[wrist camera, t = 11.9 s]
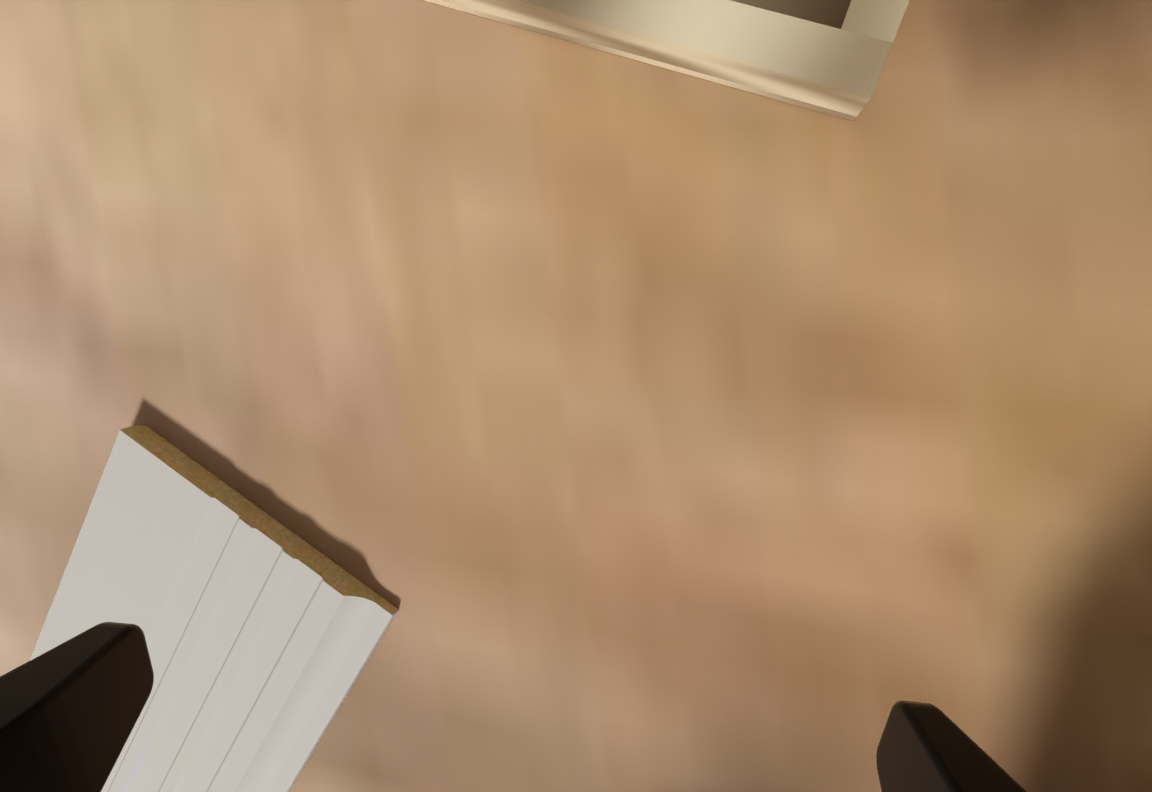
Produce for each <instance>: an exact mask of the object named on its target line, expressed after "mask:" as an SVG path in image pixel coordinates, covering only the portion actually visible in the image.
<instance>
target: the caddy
mask: <svg viewBox="0 0 1152 792" xmlns="http://www.w3.org/2000/svg"><path fill="white" fill-rule="evenodd" d="M425 1H428V2H432V3H435V4H439V5H442V6H446V7H450V8H453V9H457V10H460V11H464V12H467V13H471V14H474V15H478V16H481V17H485V18H489V19H492V20H496V21H499V22H503V23H506V24H510V25H513V26H517V27H521V28H524V29H528V30H531V31H535V32H538V33H542V34H545V35H549V36H553V37H556V38H560V39H563V40H567V41H570V42H574V43H577V44H581V45H584V46H588V47H592V48H595V49H599V50H602V51H606V52H609V53H613V54H616V55H620V56H624V57H627V58H631V59H634V60H638V61H641V62H645V63H648V64H652V65H656V66H659V67H663V68H666V69H670V70H673V71H677V72H680V73H684V74H687V75H691V76H695V77H698V78H702V79H705V80H709V81H712V82H716V83H719V84H723V85H727V86H730V87H734V88H737V89H741V90H744V91H748V92H751V93H755V94H759V95H762V96H766V97H769V98H773V99H776V100H780V101H783V102H787V103H791V104H794V105H798V106H801V107H805V108H808V109H812V110H815V111H819V112H822V113H826V114H830V115H833V116H837V117H840V118H844V119H847V120H851V121H854V119H855V118H856V117H857V116H858V114H859V113H860V112H861V110H862V109H863V108H864V106H865V105H866V104H867V102H868V101H869V100H870V99H871V97H872V95H873V92H874V90H875V87H876V84H877V82H878V79H879V77H880V74H881V72H882V69H883V67H884V64H885V62H886V59H887V56H888V54H889V51H890V49H891V46H892V44H893V41H894V39H895V36H896V34H897V31H898V28H899V26H900V23H901V21H902V18H903V16H904V13H905V11H906V8H907V6H908V3H909V0H425Z"/></svg>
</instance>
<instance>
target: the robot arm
mask: <svg viewBox="0 0 1152 792" xmlns="http://www.w3.org/2000/svg"><path fill="white" fill-rule="evenodd" d="M153 682H154V673H153V668H152V664H151V660H150V656H149V652H148V648H147V643H146V639H145V635H144V632H143V630H142V629H141V628H140V627H139V626H138V625H135V624H127V623H117V622H103V623H100V624H98V625H96V626H94V627H92V628H90V629H88V630H86V631H84V632H82V633H81V634H79V635H77V636H75V637H73V638H71V639H69V640H68V641H66V642H64V643H62V644H60V645H58V646H56V647H55V648H53V649H51V650H49V651H47V652H45V653H43V654H42V655H40V656H38V657H36V658H34V659H32V660H30V661H29V662H27V663H25V664H23V665H21V666H19V667H17V668H16V669H14V670H12V671H10V672H8V673H6V674H4V675H3V676H1V677H0V792H101V791H102V789H103V787H104V785H105V783H106V781H107V779H108V777H109V775H110V773H111V771H112V769H113V767H114V765H115V763H116V761H117V759H118V757H119V755H120V753H121V751H122V749H123V747H124V745H125V743H126V741H127V739H128V737H129V735H130V733H131V731H132V729H133V728H134V726H135V724H136V722H137V720H138V718H139V716H140V714H141V712H142V710H143V708H144V706H145V704H146V702H147V700H148V698H149V696H150V693H151V690H152V687H153ZM877 770H878V775H879V780H880V785H881V790H882V792H1026V791H1025V790H1024V789H1023V788H1022V787H1021V786H1020V785H1019V784H1018V783H1017V782H1016V781H1015V780H1014V779H1013V778H1012V777H1011V776H1010V775H1008V774H1007V773H1006V772H1005V771H1004V770H1003V769H1002V768H1001V767H1000V766H999V765H998V764H997V763H996V762H995V761H994V760H993V759H992V758H991V757H989V756H988V755H987V754H986V753H985V752H984V751H983V750H982V749H981V748H980V747H979V746H978V745H977V744H976V743H975V742H974V741H973V740H971V739H970V738H969V737H968V736H967V735H966V734H965V733H964V732H963V731H962V730H961V729H960V728H959V727H958V726H957V725H956V724H955V723H953V722H952V721H951V720H950V719H949V718H948V717H947V716H946V715H945V714H944V713H943V712H942V711H941V710H940V709H938V708H937V707H935V706H934V705H932V704H929V703H920V702H910V701H898V702H897V703H896V704H894V705H893V707H892V709H891V712H890V715H889V717H888V720H887V723H886V726H885V728H884V731H883V734H882V737H881V739H880V742H879V745H878V749H877Z"/></svg>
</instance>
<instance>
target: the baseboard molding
mask: <svg viewBox="0 0 1152 792" xmlns="http://www.w3.org/2000/svg"><path fill="white" fill-rule="evenodd" d="M398 610H399V609H398V608H396V607H395V606H393V605H392V604H391V603H389V602H388V601H386V600H385V599H384V598H382V597H381V596H380V595H378V594H377V593H375V592H374V591H373V590H371V589H370V588H369V587H367V586H366V585H364V584H363V583H362V582H360V581H359V580H358V579H356V578H355V577H353V576H352V575H351V574H349V573H348V572H347V571H345V570H344V569H342V568H341V567H340V566H338V565H337V564H336V563H334V562H333V561H331V560H330V559H329V558H327V557H326V556H325V555H323V554H322V553H320V552H319V551H318V550H316V549H315V548H314V547H312V546H311V545H309V544H308V543H307V542H305V541H304V540H303V539H301V538H300V537H298V536H297V535H296V534H294V533H293V532H292V531H290V530H289V529H287V528H286V527H285V526H283V525H282V524H280V523H279V522H278V521H276V520H275V519H274V518H272V517H271V516H269V515H268V514H267V513H265V512H264V511H263V510H261V509H260V508H258V507H257V506H256V505H254V504H253V503H252V502H250V501H249V500H247V499H246V498H245V497H243V496H242V495H241V494H239V493H238V492H236V491H235V490H234V489H232V488H231V487H230V486H228V485H227V484H225V483H224V482H223V481H221V480H220V479H219V478H217V477H216V476H214V475H213V474H212V473H210V472H209V471H208V470H206V469H205V468H203V467H202V466H201V465H199V464H198V463H197V462H195V461H194V460H192V459H191V458H190V457H188V456H187V455H186V454H184V453H183V452H181V451H180V450H179V449H177V448H176V447H174V446H173V445H172V444H170V443H169V442H168V441H166V440H165V439H163V438H162V437H161V436H159V435H158V434H157V433H155V432H154V431H152V430H151V429H150V428H148V427H147V426H143V425H142V426H132V427H128V428H125V429H121V430H120V431H119V433H118V436H117V439H116V441H115V444H114V446H113V449H112V451H111V454H110V456H109V459H108V462H107V464H106V467H105V469H104V472H103V474H102V477H101V480H100V482H99V485H98V487H97V490H96V492H95V495H94V497H93V500H92V503H91V505H90V508H89V510H88V513H87V515H86V518H85V521H84V523H83V526H82V528H81V531H80V533H79V536H78V538H77V541H76V544H75V546H74V549H73V551H72V554H71V556H70V559H69V562H68V564H67V567H66V569H65V572H64V574H63V577H62V579H61V582H60V585H59V587H58V590H57V592H56V595H55V597H54V600H53V603H52V605H51V608H50V610H49V613H48V615H47V618H46V620H45V623H44V626H43V628H42V631H41V633H40V636H39V638H38V641H37V644H36V646H35V649H34V651H33V654H32V656H31V659H30V660H32V659H34V658H36V657H38V656H40V655H42V654H43V653H45V652H47V651H49V650H51V649H53V648H55V647H56V646H58V645H60V644H62V643H64V642H66V641H68V640H69V639H71V638H73V637H75V636H77V635H79V634H81V633H82V632H84V631H86V630H88V629H90V628H92V627H94V626H96V625H98V624H100V623H103V622H117V623H127V624H135V625H138V626H139V627H140V628H141V629H142V630H143V632H144V635H145V639H146V643H147V648H148V652H149V656H150V660H151V664H152V668H153V673H154V682H153V687H152V690H151V693H150V696H149V698H148V700H147V702H146V704H145V706H144V708H143V710H142V712H141V714H140V716H139V718H138V720H137V722H136V724H135V726H134V728H133V729H132V731H131V733H130V735H129V737H128V739H127V741H126V743H125V745H124V747H123V749H122V751H121V753H120V755H119V757H118V759H117V761H116V763H115V765H114V767H113V769H112V771H111V773H110V775H109V777H108V779H107V781H106V783H105V785H104V787H103V789H102V791H101V792H290V790H291V789H292V787H293V785H294V784H295V782H296V780H297V779H298V777H299V775H300V774H301V772H302V770H303V769H304V767H305V765H306V764H307V762H308V760H309V759H310V757H311V755H312V754H313V752H314V750H315V749H316V747H317V745H318V744H319V742H320V740H321V739H322V737H323V735H324V734H325V732H326V730H327V729H328V727H329V725H330V724H331V722H332V720H333V719H334V717H335V715H336V714H337V712H338V710H339V709H340V707H341V705H342V704H343V702H344V700H345V699H346V697H347V695H348V694H349V692H350V690H351V689H352V687H353V685H354V684H355V682H356V680H357V679H358V677H359V675H360V674H361V672H362V670H363V669H364V667H365V665H366V664H367V662H368V660H369V659H370V657H371V655H372V654H373V652H374V650H375V649H376V647H377V645H378V644H379V642H380V640H381V639H382V637H383V635H384V634H385V632H386V630H387V629H388V627H389V625H390V624H391V622H392V620H393V619H394V617H395V615H396V614H397V612H398Z"/></svg>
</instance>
